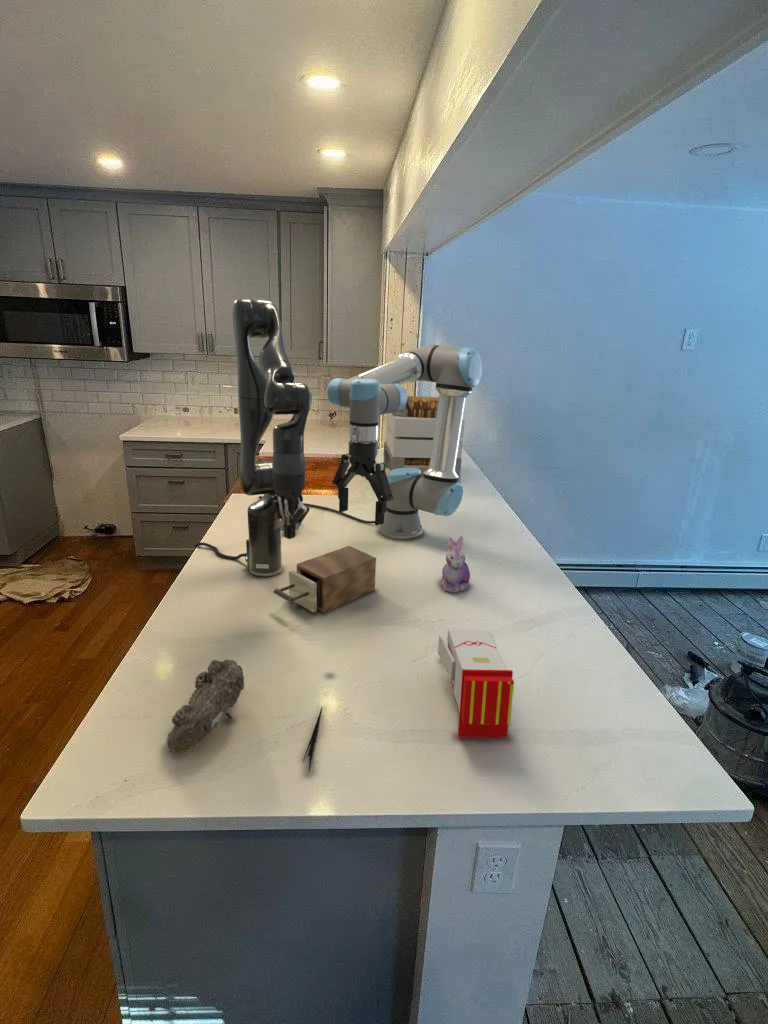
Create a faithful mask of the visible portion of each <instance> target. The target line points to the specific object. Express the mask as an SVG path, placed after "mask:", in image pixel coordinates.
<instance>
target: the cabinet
mask: <svg viewBox="0 0 768 1024" xmlns="http://www.w3.org/2000/svg"><path fill="white" fill-rule="evenodd" d="M299 570H303V571H305V572H307V573H309V574H311V575H313V576H314V577H316V578H318V579H320V580H322V589H321V606H317V610H318V611H319V612H321V613H323V614H324V613H328V612H329V611H332V610H334V609H336V608H338V607H340V606H342V605H345V604H347V603H349V602H351V601H354V600H356V599H359V598H360V597H363V596H365V595H367V594H370V593H372V592H374V591H376V572H377V571H376V570H377V557H376V556H373V555H371V554H369V553H366V552H364V551H361V550H360V549H357V548H355V547H353V546H350V545H346V546H344V547H341V548H338V549H335V550H333V551H330V552H327V553H324V554H321V555H318V556H316V557H313V558H310V559H307V560H304V561H301V562H299V563H296V572H297V573H299Z"/></svg>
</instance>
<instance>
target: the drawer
mask: <svg viewBox="0 0 768 1024" xmlns="http://www.w3.org/2000/svg"><path fill="white" fill-rule="evenodd" d="M288 581H289V582H288V585H286V586H284V587H282V588H279V589H278V588H274V590H273V593H274V595H277V596H278V597H279V598H281V599H283V600H284V601H286V602H288V603H290V604H294V603H296V604H298V605H299V606H301V607H303V608H305V609H306V610H308V611H310V612H311V613H316V612H317V610H318V609H317V606H321V589H322V580H320V579H318V578H316V577H314V576H313V575H311V574H309V573H307V572H305V571H303V570H299V573H297V571H295V570H294V569H293V570H289V571H288ZM287 590H289V591H288V593H289V594H287V593H286V592H284V591H287Z"/></svg>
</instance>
